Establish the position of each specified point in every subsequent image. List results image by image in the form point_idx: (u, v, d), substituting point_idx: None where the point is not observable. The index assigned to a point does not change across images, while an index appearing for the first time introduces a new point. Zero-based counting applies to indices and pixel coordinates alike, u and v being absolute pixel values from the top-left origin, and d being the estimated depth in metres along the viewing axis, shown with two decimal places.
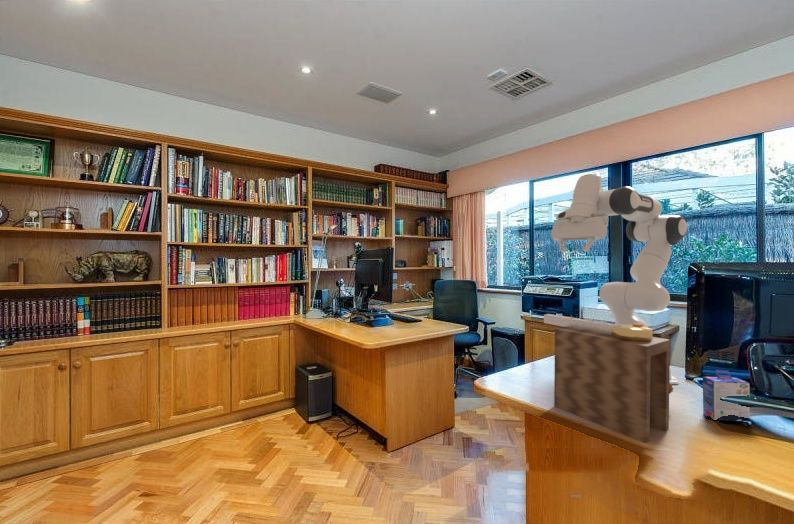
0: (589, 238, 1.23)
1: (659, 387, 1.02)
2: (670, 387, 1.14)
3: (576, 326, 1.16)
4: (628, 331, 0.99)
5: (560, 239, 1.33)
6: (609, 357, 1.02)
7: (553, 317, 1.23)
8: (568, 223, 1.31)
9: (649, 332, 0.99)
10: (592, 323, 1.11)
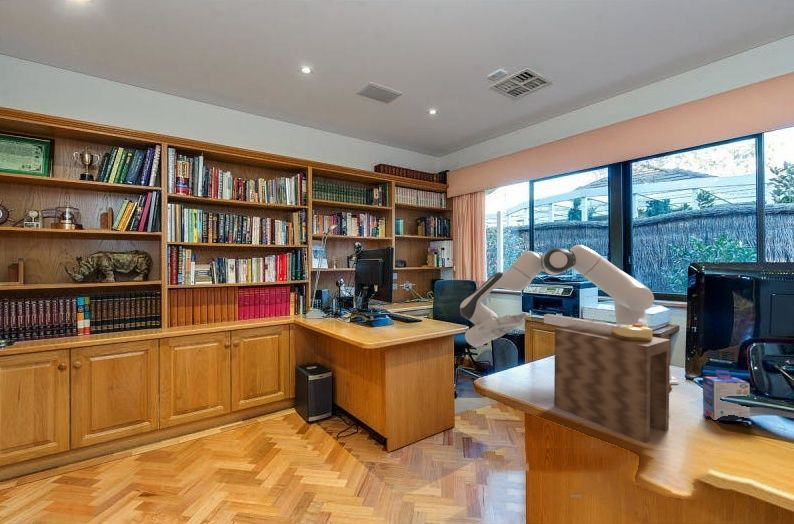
0: (500, 323, 1.37)
1: (659, 387, 1.02)
2: (669, 387, 1.14)
3: (576, 326, 1.16)
4: (628, 331, 0.99)
5: (520, 320, 1.43)
6: (609, 357, 1.02)
7: (553, 317, 1.23)
8: (506, 328, 1.46)
9: (649, 332, 0.99)
10: (592, 323, 1.11)
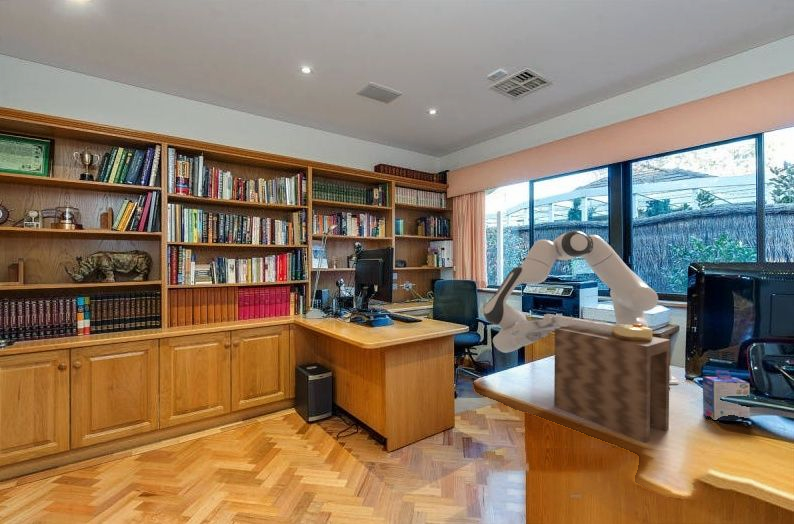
0: (542, 326, 1.24)
1: (659, 387, 1.02)
2: None
3: (576, 326, 1.16)
4: (628, 331, 0.99)
5: None
6: (609, 357, 1.02)
7: (553, 317, 1.23)
8: (541, 332, 1.32)
9: (649, 332, 0.99)
10: (592, 323, 1.11)
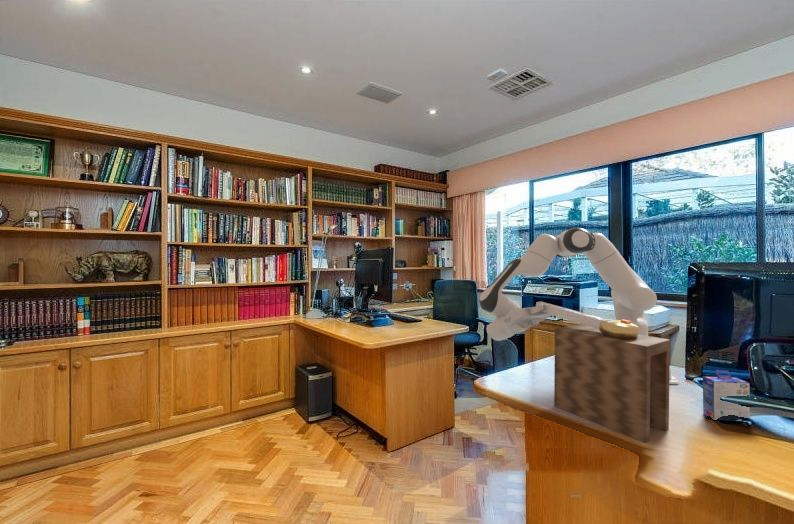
0: (533, 313, 1.27)
1: (659, 387, 1.02)
2: None
3: (566, 316, 1.19)
4: (615, 327, 1.02)
5: None
6: (609, 357, 1.02)
7: (545, 305, 1.25)
8: (533, 320, 1.35)
9: (636, 330, 1.01)
10: (582, 315, 1.14)
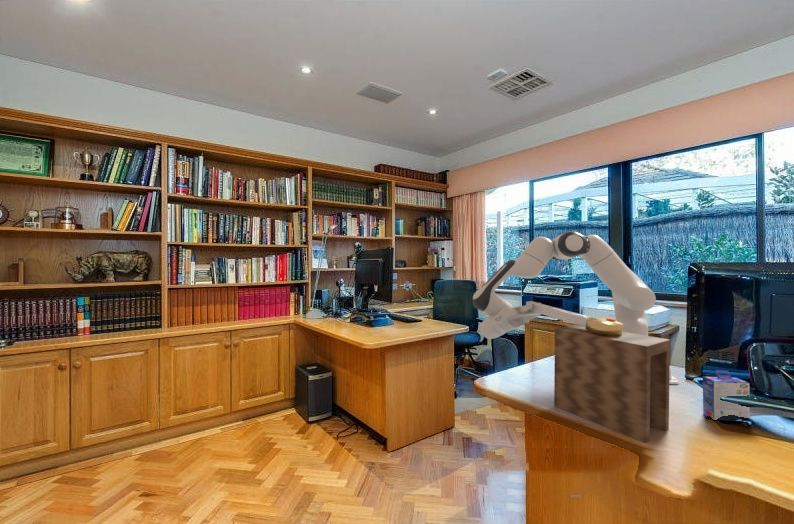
0: (523, 312, 1.31)
1: (659, 387, 1.02)
2: None
3: (554, 315, 1.22)
4: (600, 325, 1.06)
5: None
6: (609, 357, 1.02)
7: (534, 305, 1.29)
8: (523, 318, 1.39)
9: (619, 327, 1.05)
10: (569, 314, 1.18)
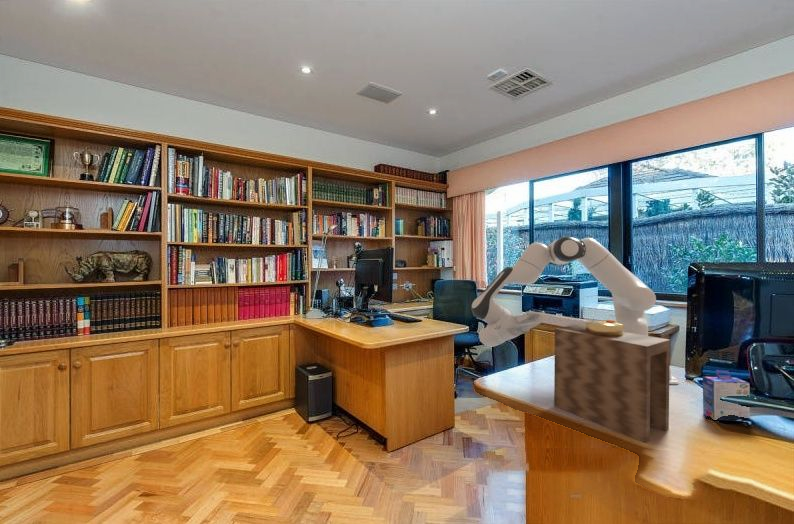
0: (518, 322, 1.30)
1: (659, 387, 1.02)
2: None
3: (554, 322, 1.22)
4: (600, 326, 1.06)
5: None
6: (609, 357, 1.02)
7: (534, 314, 1.29)
8: (523, 327, 1.39)
9: (619, 327, 1.05)
10: (569, 319, 1.18)
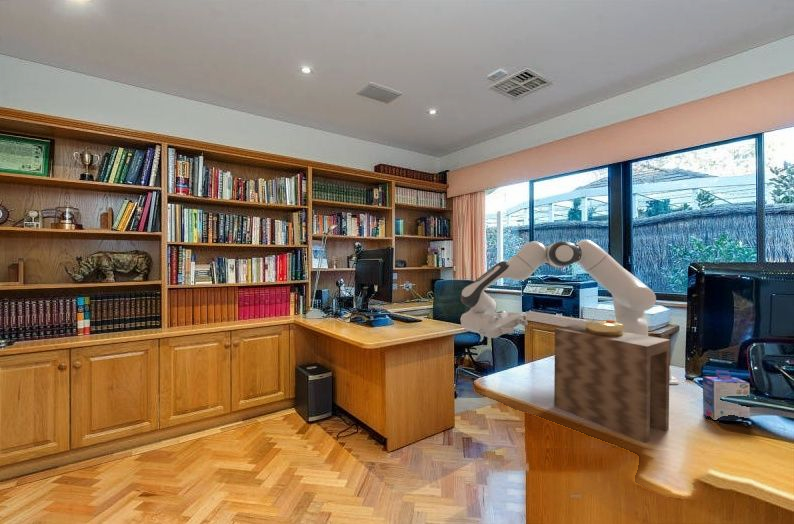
0: None
1: (659, 387, 1.02)
2: None
3: (554, 322, 1.22)
4: (600, 326, 1.06)
5: (519, 323, 1.45)
6: (609, 357, 1.02)
7: (534, 314, 1.29)
8: None
9: (619, 327, 1.05)
10: (569, 319, 1.18)
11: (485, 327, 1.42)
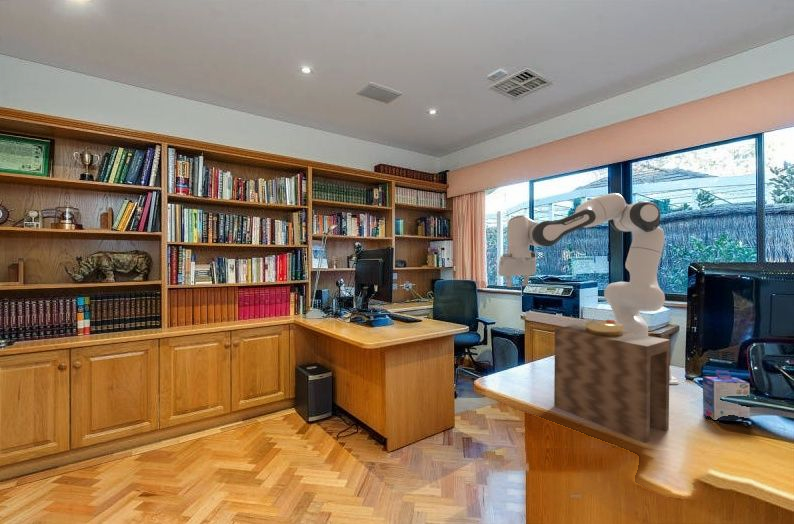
0: None
1: (659, 387, 1.02)
2: None
3: (554, 322, 1.22)
4: (600, 326, 1.06)
5: None
6: (609, 357, 1.02)
7: (534, 314, 1.29)
8: None
9: (619, 327, 1.05)
10: (569, 319, 1.18)
11: (507, 263, 1.43)
